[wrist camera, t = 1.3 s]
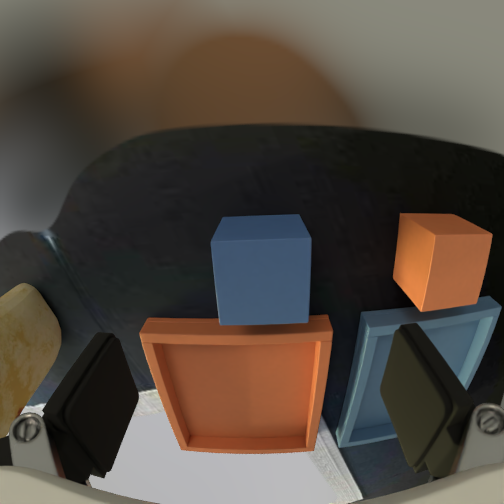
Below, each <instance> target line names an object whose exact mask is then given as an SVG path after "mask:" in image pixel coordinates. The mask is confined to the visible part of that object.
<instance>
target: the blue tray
mask: <svg viewBox="0 0 504 504" xmlns="http://www.w3.org/2000/svg"><path fill="white" fill-rule="evenodd" d="M501 308H502V307H501V306H500V305H499V304H498V303H497V302H496V301H495V300H493V299H492V298H491V297H490V296H485V297H479V298H478V301H477V303H476V304H471V305H465V306H459V307H453V308H446V309H439V310H432V311H425V312H420V310H419V309H418V308H417V307H416V306H415V307H406V308H397V309H388V310H378V311H367V312H361V316H360V322H359V328H358V334H357V340H356V346H355V351H354V357H353V362H352V367H351V372H350V377H349V381H348V386H347V390H346V395H345V399H344V403H343V407H342V411H341V415H340V419H339V423H338V427H337V430H336V436H337V441H338V446H339V448H341V447H348V446H355V445H361V444H366V443H372V442H377V441H382V440H386V439H391V438H395V437H397V434H396V432H395V429H394V427H393V424H392V422H391V419H390V417H389V414H388V412H387V409H386V407H385V404H384V402H383V399H382V397H381V394H380V385H381V382H382V378H383V375H384V371H385V367H386V364H387V360H388V356H389V352H390V348H391V344H392V340H393V336H394V332H395V330H397V329H399V327H400V325H402V324H409V323H417V324H418V325H419V326H420V327H421V328H422V330H423V331H424V332H425V334H426V335H427V336H428V338H429V339H430V340H431V342H432V343H433V344H434V346H435V347H436V348H437V350H438V351H439V352H440V354H441V355H442V356H443V358H444V359H445V361H446V362H447V363H448V365H449V366H450V368H451V369H452V370H453V372H454V373H455V375H456V376H457V378H458V379H459V380H460V382H461V383H462V385H463V386H464V388H465V389H466V390H467V389H468V387H469V385H470V383H471V381H472V379H473V377H474V375H475V372H476V370H477V368H478V366H479V364H480V362H481V359H482V357H483V355H484V353H485V350H486V348H487V345H488V343H489V340H490V338H491V335H492V333H493V330H494V327H495V325H496V322H497V319H498V316H499V314H500V311H501Z"/></svg>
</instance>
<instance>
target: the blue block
mask: <svg viewBox="0 0 504 504" xmlns="http://www.w3.org/2000/svg"><path fill="white" fill-rule="evenodd" d="M211 251H212V261H213V270H214V280H215V289H216V298H217V306H218V314H219V323H220V325H265V324H290V323H308V321H309V302H310V277H311V236H310V235H309V233H308V231H307V229H306V227H305V225H304V223H303V221H302V219H301V217H300V215H299V214H292V215H261V216H237V217H223V218H222V220H221V222H220V224H219V226H218V228H217V230H216V232H215V234H214V236H213V238H212V240H211Z"/></svg>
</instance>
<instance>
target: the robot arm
mask: <svg viewBox="0 0 504 504" xmlns="http://www.w3.org/2000/svg"><path fill="white" fill-rule="evenodd" d="M380 394H381V397H382V399H383V402H384V404H385V407H386V409H387V412H388V414H389V417H390V419H391V422H392V424H393V427H394V429H395V432H396V434H397V437H398V439H399V442H400V445H401V447H402V450H403V453H404V455H405V458H406V461H407V463H408V465H409V467H413V468H414V471H415V474H416V473H419V472H422V471H425V470H429V472H430V475H431V476H430V478H429V481H428V483H427V484H424V485H420V486H417V487H414V488H411V489H407V490H404V491H400V492H396V493H393V494H389V495H385V496H381V497H377V498H373V499H368V500H363V501H359V502H353V503H348V504H504V409H503V408H502V407H500V406H499V405H496V404H493V403H485V404H481V405H479V406H477V407H475V406H474V404H473V402H474V401H473V400H472V398H471V397H470V395H469V394H468V392H467V391H466V389H465V388H464V386H463V385H462V383H461V382H460V380H459V379H458V378H457V376H456V375H455V373H454V372H453V370H452V369H451V368H450V366H449V365H448V363H447V362H446V361H445V359H444V358H443V356H442V355H441V354H440V352H439V351H438V350H437V348H436V347H435V346H434V344H433V343H432V342H431V340H430V339H429V338H428V336H427V335H426V334H425V332H424V331H423V330H422V328H421V327H420V326H419V325H418V324H417V323H409V324H402V325H400V327H399V329H397V330H395V332H394V336H393V340H392V344H391V348H390V352H389V356H388V360H387V364H386V367H385V371H384V375H383V378H382V382H381V385H380ZM138 400H139V393H138V390H137V388H136V385H135V383H134V380H133V377H132V375H131V372H130V369H129V366H128V364H127V361H126V358H125V355H124V352H123V349H122V346H121V343H120V340H119V339H118V338H116V337H115V335H114V334H112V333H101V332H99V333H97V334H96V335H95V336H94V337H93V339H92V340H91V341H90V343H89V344H88V345H87V347H86V348H85V349H84V351H83V352H82V353H81V355H80V356H79V358H78V359H77V360H76V362H75V363H74V365H73V366H72V367H71V369H70V370H69V372H68V373H67V374H66V376H65V377H64V379H63V380H62V382H61V383H60V384H59V386H58V387H57V389H56V390H55V392H54V393H53V395H52V396H51V398H50V399H49V401H48V402H47V404H46V405H45V407H44V408H43V410H42V411H43V412H44V415H43V417H41V416H40V415H38V414H36V413H31V412H29V413H24V414H21V415H19V416H18V417H17V418H15V419H14V420H13V422H12V423H11V425H10V428H9V436H6V437H3V438H0V504H158V503H152V502H147V501H142V500H138V499H133V498H129V497H124V496H120V495H116V494H113V493H109V492H106V491H102V490H98V489H95V488H92V487H91V484H90V482H89V476H90V474H91V475H94V476H97V477H101V478H105V475H106V472H109V471H110V470H111V469H112V466H113V464H114V461H115V458H116V456H117V453H118V451H119V448H120V445H121V442H122V440H123V438H124V435H125V433H126V430H127V428H128V425H129V423H130V420H131V418H132V415H133V413H134V410H135V408H136V405H137V403H138Z"/></svg>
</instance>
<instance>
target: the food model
mask: <svg viewBox="0 0 504 504" xmlns="http://www.w3.org/2000/svg"><path fill="white" fill-rule="evenodd" d="M60 346H61V329H60V326H59V323H58V320H57V318H56V316H55V315H54V313H53V312H52V310H51V309H50V308H49V306H48V305H47V303H46V302H45V300H44V299H43V297H42V296H41V294H40V293H39V291H38V290H37V289H36V288H34V287H33V286H31V285H29V284H26V283H22V284H20V285H18V286H16V287H14V288H13V289H11V290H10V291H9V292H7V293H6V294H5V295H3V296H2V297H0V438H3V437H6V435H7V434H8V432H9V428H10V425H11V423H12V422H13V420H14V419H15V418H17V417H18V416H19V415H20V414H21V412H22V410H23V409H24V407H25V406H26V404H27V402H28V401H29V399H30V398H31V396H32V395H33V394H34V392H35V391H36V389H37V388H38V386H39V385H40V383H41V382H42V380H43V379H44V377H45V376H46V374H47V373H48V371H49V370H50V368H51V366H52V365H53V363H54V361H55V360H56V358H57V355H58V352H59V349H60Z"/></svg>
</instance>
